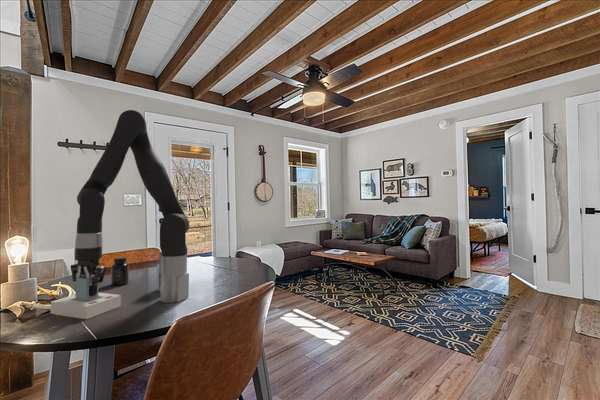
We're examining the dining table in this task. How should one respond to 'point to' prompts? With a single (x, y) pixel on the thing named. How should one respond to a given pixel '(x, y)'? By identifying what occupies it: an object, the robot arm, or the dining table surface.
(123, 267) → the supplement bottle
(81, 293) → the plug block
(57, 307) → the socket plate
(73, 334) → the dining table surface
